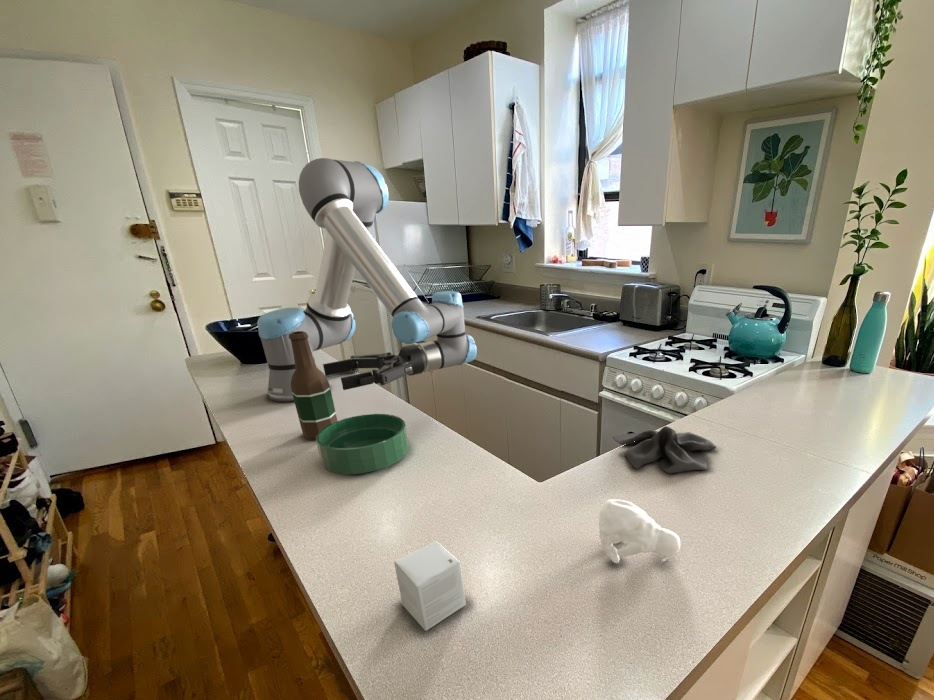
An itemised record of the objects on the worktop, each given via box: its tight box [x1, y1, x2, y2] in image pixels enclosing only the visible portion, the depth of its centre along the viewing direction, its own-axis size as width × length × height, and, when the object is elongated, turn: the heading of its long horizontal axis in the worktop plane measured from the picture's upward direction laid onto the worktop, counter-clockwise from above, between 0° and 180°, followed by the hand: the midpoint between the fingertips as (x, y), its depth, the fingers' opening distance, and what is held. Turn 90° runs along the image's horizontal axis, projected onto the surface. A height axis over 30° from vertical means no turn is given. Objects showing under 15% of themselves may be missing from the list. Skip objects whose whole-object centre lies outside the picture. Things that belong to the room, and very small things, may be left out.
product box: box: [393, 540, 467, 632], centre depth 59 cm, size 6×6×7 cm
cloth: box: [611, 425, 717, 474], centre depth 97 cm, size 22×19×6 cm
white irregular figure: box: [598, 499, 681, 564], centre depth 67 cm, size 6×8×12 cm
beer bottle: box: [289, 331, 338, 441], centre depth 104 cm, size 8×8×24 cm
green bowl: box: [315, 413, 410, 475], centre depth 97 cm, size 17×17×6 cm
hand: (332, 376), depth 106 cm, fingers open, 13 cm apart
